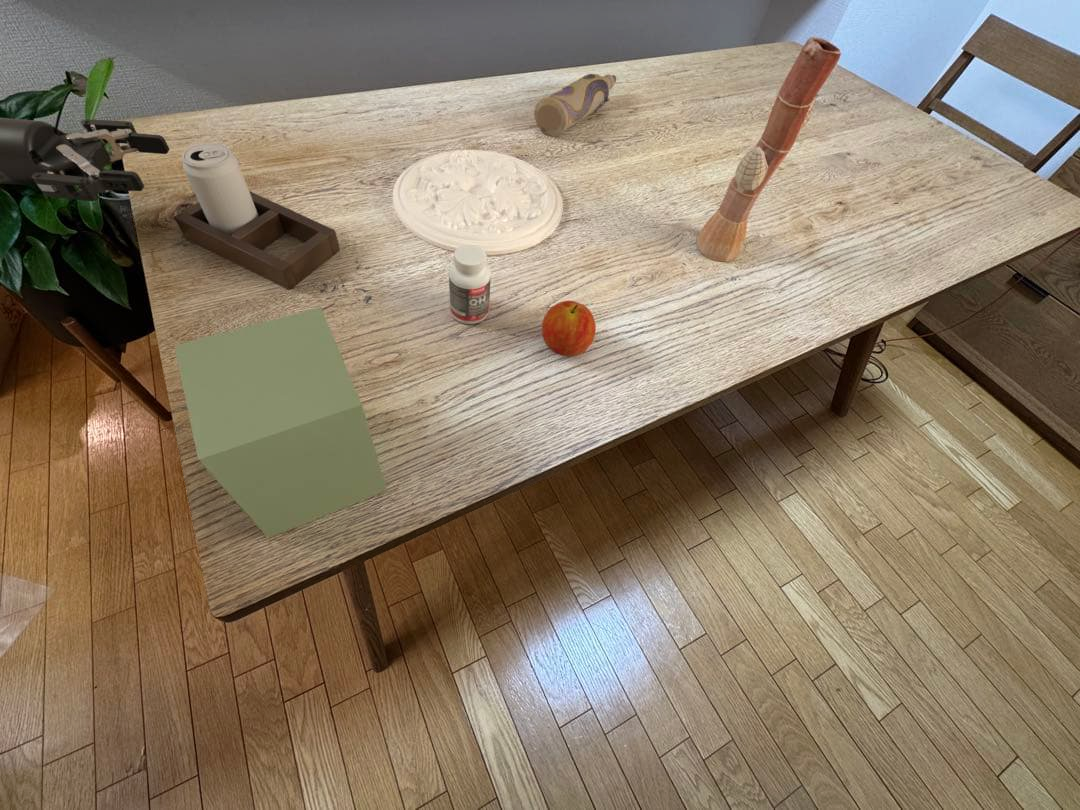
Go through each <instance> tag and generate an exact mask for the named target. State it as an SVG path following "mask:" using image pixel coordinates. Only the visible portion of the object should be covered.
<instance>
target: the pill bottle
mask: <svg viewBox="0 0 1080 810" xmlns="http://www.w3.org/2000/svg"><path fill="white" fill-rule="evenodd" d="M491 280H492V273H491V269H490V266H489V264H487V255H486V253H485V251H484V250H483V249H482V248H480V247H478V246H475V245H463V246H460V247H458V248H457V249H456V250H455V252H454V251H453V262H452V263H451V264H450V266H449V269H448V291H449V312H450V315H451V316H452V318H453V319H454V320H455V321H457V322H459V323H461V324H466V325H475V324H479V323H482V322H484V320H486V318H488V316H489V312H490V300H491V299H490V298H491V297H490V296H491Z"/></svg>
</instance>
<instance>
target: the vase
mask: <svg viewBox="0 0 1080 810" xmlns="http://www.w3.org/2000/svg"><path fill="white" fill-rule="evenodd" d="M841 55H842V52H841V50H840V49H839V47H837V46H836V45H834V44H833V43H831V42H830V41H828V40H826V39H824V38H822V37H815V36H814V37H809V38H808V40H806V41H805V43H804V45H803V46H802V48H801V50H800V52H799V54H798V56H797V58H796V59H795V61H794V63H793V64H792V66H791V68H790V70H789V72H788V73H787V76H786V77H785V78H784V80H783V83H782V85H781V86H780V89H779V90H778V93H777V96H776V98H775V100H774V103H773V105H772V109H771V111H770V114H769V117H768V120H767V124H766V126H765V127H764V130H763V133H762V134H761V136H760V138H759V140H758V141H757V143H756V145H755V146H754V147H752V148H750V149H749V150H747V151H746V153H745V154H744V155H743V156H742V157H741V159H740V161H739V162H738V164H737V167H736V169H735V175H734V176H733V177H732V179H731V181H730V183H729V184H728V188H727V190H726V193H725V194H724V197H723V199H722V202H721V203H720V206H719V207H718V209H717V210H716V211H715V212H714V213H713V215H712V216H711V217H709V219H708V220H707V221H706V223H705V224H704V226H703V227H702V228H701V230H700V232H699V233H698V235H697V237H696V240H695V242H696V248H697V250H698V251H699V252H700V253H701V255H703V256H704V257H707V258H709V259H711V260H712V261H716V262H722V263H726V262H729V261H733V260H735V259H737V257H738V256H739V254H740V252H741V250H742V247H743V245H744V243H745V239H746V235H747V227H748V218H749V215H750V213H751V211H752V209H753V208H754V205H755V203H756V201H757V199H758V198H759V196H760V195H761V193H762V191H763V190H764V188H765V187H766V185H767V184H768V182H769V181H770V179H771V178H772V177H773V175H774V174H775V172H776V171H777V170H778V168H779V167H780V165H781V163H782V162H783V161H784V160H785V158H786V157H787V156H788V154H789V153H790V151H791V149H792V148H793V146H794V144H795V142H796V140H797V137H798V135H799V134H800V133H801V132H802V131H803V130H804V129H805V127H806V125H807V124H808V123H809V122H810V119H811V116H812V114H813V113H814V109H815V105H816V104H815V103H816V98H817V95H818V93H819V91H820V90H821V88H822V87H823V86H824V84H825V83H826V81H827V80H828V78H829V76H830V75H831V73H832V72H833V70H834V68H835V67H836V66H837V64H838V62H839V60H840V58H841Z"/></svg>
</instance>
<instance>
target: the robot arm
mask: <svg viewBox="0 0 1080 810" xmlns="http://www.w3.org/2000/svg"><path fill="white" fill-rule="evenodd" d="M80 123H81V126H82V127H83V128H84V129H83V130H82V131H77V132H69V133H68V132H64V131H62V130H60V129H58V128H57V127H55V126H54V125H53V124H50V123H48V122H46V121H43V120H35V119H33V120H31V119H23V118H22V119H19V118H8V117H0V184H4V185H20V186H21V185H22V186H31V187H32V186H33V187H38V188H39V189H40V190H41V192H42V194H44V196H45V197H47V198H55V199H65V200H76V201H87V202H95V201H97V200H99V199H100V196H99V194H100V193H102V194H107V193H109V192H111V191H122V192H142V191H143V189H144V188H145V184H144V182H143V180H142V179H141V177H140V176H139V175H140V174H139V173H137V172H135V171H131V170H129V171H128V170H116V169H105V166H106V165H108V164H109V163H111V162H115V161H120V160H122V159H123V158H124V157H125V155H129V154H131V153H136V152H138V153H144V154H145V153H146V154H158V155H167V154H168V153H169V152H170V147H169V145H168V143H167V140H166V138H164V136H163V135H160V134H151V133H150V134H149V133H138V132H137V130H136V128H135V126H134V124H133V122H132V121H126V120H110V119H109V120H108V119H91V118H86V119H83V120H81V121H80ZM105 144H108V145H109V147H110V149H111V151H110V152H108V150H107V148H106V147H105ZM118 144H123V145H121V146H120V145H118ZM76 187H78V188H79V189H80V190H79V189H77V188H76Z"/></svg>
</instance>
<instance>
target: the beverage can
mask: <svg viewBox="0 0 1080 810" xmlns="http://www.w3.org/2000/svg"><path fill="white" fill-rule="evenodd" d="M181 159H182V170H183V171H184V173H185V175H186V178H187V180H188V182H189V184H190V186H191V188H192V190H193V193H194V195H195V197H196V199H197V201H198V202H199V203H200V205H201V207H202V209H203V212H204V214H205V216H206V218H207V220H208V222H209V224H210V225H211V226H213V227H215V228H217V229H219V230H221V231H223V232H225V233H227V234H229V235H232V234H233V233H235V232H236V231H238V230H239V229H241V228H243V227H244V226H246V225H247V224H249V223H250V222H252V221H253V220H255V219H256V218H258V217H259V216H258V213H257V211H256V208H255V205H254V203H253V200H252V197H251V195H250V192H249V191H250V190H249V186H248V184H247V182H246V180H245V179H246V178H245V177H244V174H243V171H242V168H241V166H240V162H239V161H238V159H237V157H236V156H235V155H234V154H233V153H232V151H231V149H230V148H229V147H228V146H227V145H225V144H222V143H219V142H200V143H195V144H193V145H190V146H188V147H187V148H185V149H184V150H183V151H182V153H181Z"/></svg>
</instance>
